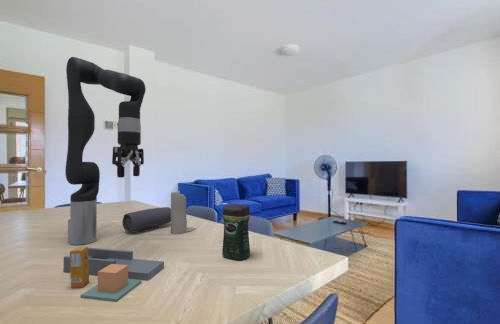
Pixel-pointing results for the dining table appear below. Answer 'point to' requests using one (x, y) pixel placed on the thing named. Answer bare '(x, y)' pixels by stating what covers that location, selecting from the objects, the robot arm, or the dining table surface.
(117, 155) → the robot arm
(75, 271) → the supplement box
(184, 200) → the candle
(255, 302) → the dining table surface
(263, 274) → the dining table surface
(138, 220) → the bluetooth speaker
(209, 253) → the dining table surface
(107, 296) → the pad
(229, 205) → the coffee jar
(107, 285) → the block
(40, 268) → the dining table surface
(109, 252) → the channel
